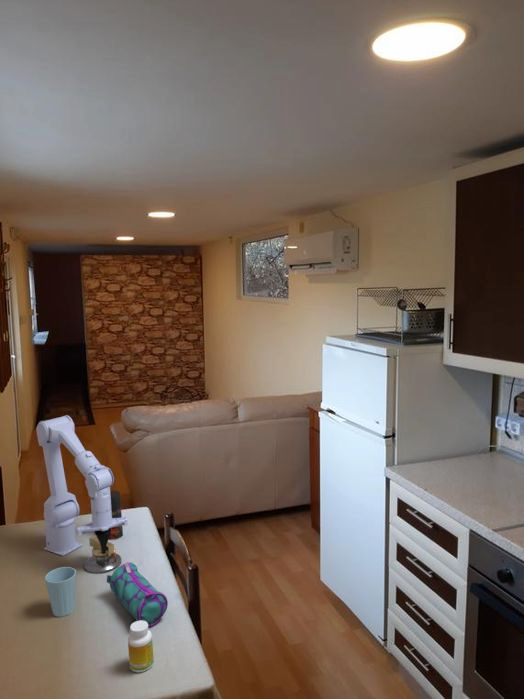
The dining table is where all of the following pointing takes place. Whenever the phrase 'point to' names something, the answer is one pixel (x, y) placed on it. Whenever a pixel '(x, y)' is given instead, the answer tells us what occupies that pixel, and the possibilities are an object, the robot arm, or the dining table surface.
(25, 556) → the dining table surface
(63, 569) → the cup
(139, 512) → the dining table surface
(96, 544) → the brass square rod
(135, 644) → the supplement bottle
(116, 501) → the deodorant
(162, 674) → the dining table surface
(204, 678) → the dining table surface
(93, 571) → the post base
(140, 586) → the pencil case
